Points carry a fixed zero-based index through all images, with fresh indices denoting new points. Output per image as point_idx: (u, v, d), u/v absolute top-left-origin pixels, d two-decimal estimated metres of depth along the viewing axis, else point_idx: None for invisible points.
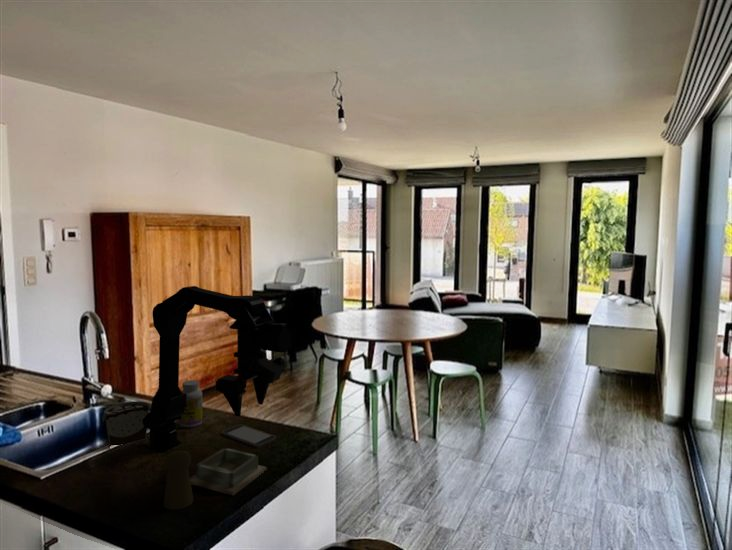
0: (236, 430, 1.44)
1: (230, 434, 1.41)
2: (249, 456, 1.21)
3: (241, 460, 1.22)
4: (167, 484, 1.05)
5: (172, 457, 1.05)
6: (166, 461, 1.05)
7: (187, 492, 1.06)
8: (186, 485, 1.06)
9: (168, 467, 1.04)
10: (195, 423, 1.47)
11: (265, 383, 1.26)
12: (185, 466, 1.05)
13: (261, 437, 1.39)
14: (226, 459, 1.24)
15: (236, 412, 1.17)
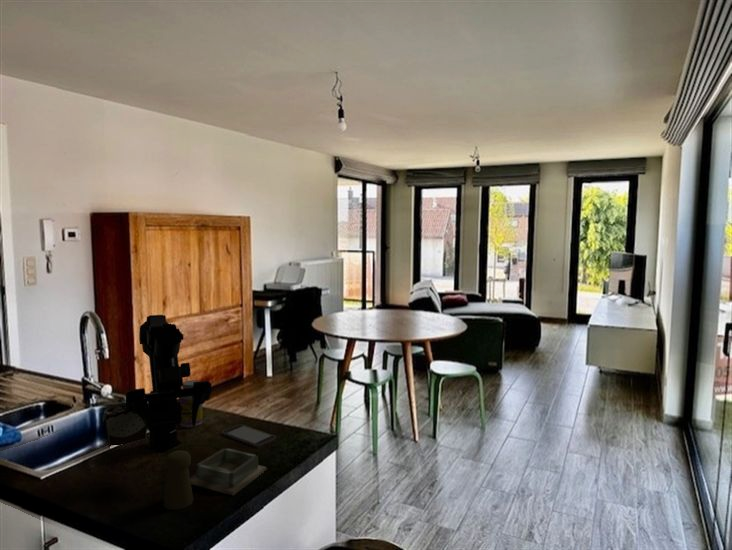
0: (236, 430, 1.44)
1: (230, 434, 1.41)
2: (249, 456, 1.21)
3: (241, 460, 1.22)
4: (167, 484, 1.05)
5: (172, 457, 1.05)
6: (166, 461, 1.05)
7: (187, 492, 1.06)
8: (186, 485, 1.06)
9: (168, 467, 1.04)
10: (195, 423, 1.47)
11: (193, 401, 1.17)
12: (185, 466, 1.05)
13: (261, 437, 1.39)
14: (226, 459, 1.24)
15: (148, 428, 1.11)
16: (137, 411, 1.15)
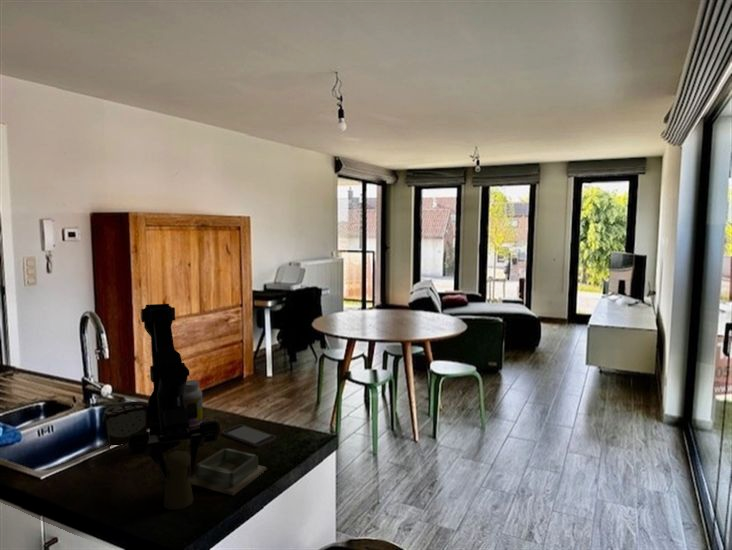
0: (236, 430, 1.44)
1: (230, 434, 1.41)
2: (249, 456, 1.21)
3: (241, 460, 1.22)
4: (167, 484, 1.05)
5: (172, 457, 1.05)
6: (166, 461, 1.05)
7: (187, 492, 1.06)
8: (186, 485, 1.06)
9: (168, 467, 1.04)
10: (195, 423, 1.47)
11: (191, 445, 1.09)
12: (185, 466, 1.05)
13: (261, 437, 1.39)
14: (226, 459, 1.24)
15: (162, 473, 1.04)
16: (150, 454, 1.08)
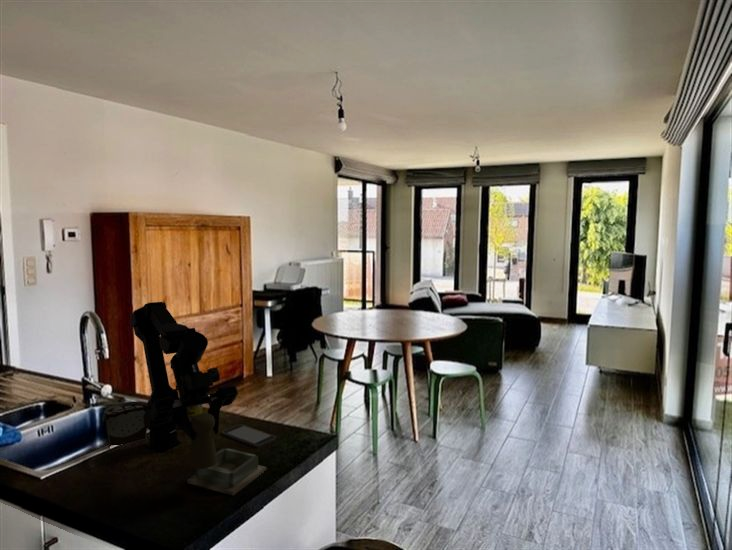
0: (236, 430, 1.44)
1: (230, 434, 1.41)
2: (249, 456, 1.21)
3: (241, 460, 1.22)
4: (194, 445, 1.09)
5: (199, 419, 1.09)
6: (193, 423, 1.08)
7: (213, 452, 1.10)
8: (212, 445, 1.10)
9: (196, 428, 1.08)
10: None
11: (213, 408, 1.13)
12: (211, 427, 1.09)
13: (261, 437, 1.39)
14: (226, 459, 1.24)
15: (190, 435, 1.08)
16: (173, 418, 1.11)
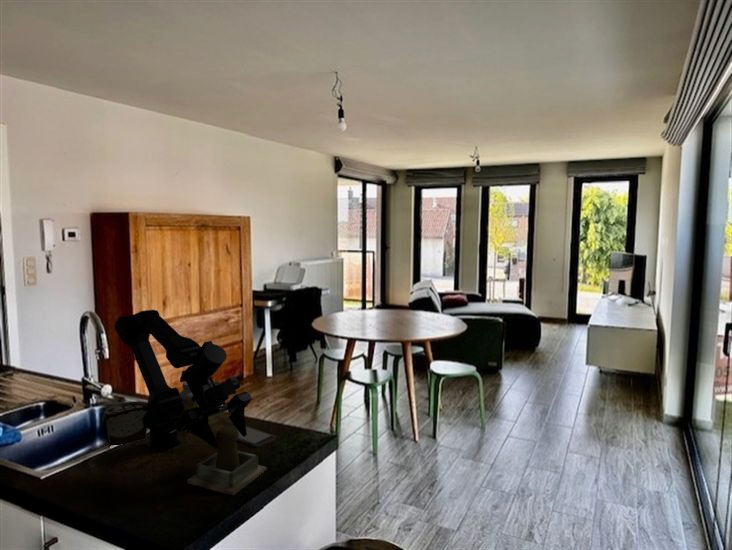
0: None
1: None
2: (249, 456, 1.21)
3: (241, 460, 1.22)
4: (221, 457, 1.16)
5: (226, 432, 1.16)
6: (220, 437, 1.15)
7: (238, 461, 1.18)
8: (237, 455, 1.18)
9: (224, 441, 1.15)
10: None
11: (238, 413, 1.22)
12: (237, 438, 1.17)
13: (260, 437, 1.39)
14: None
15: (213, 443, 1.14)
16: (192, 430, 1.15)
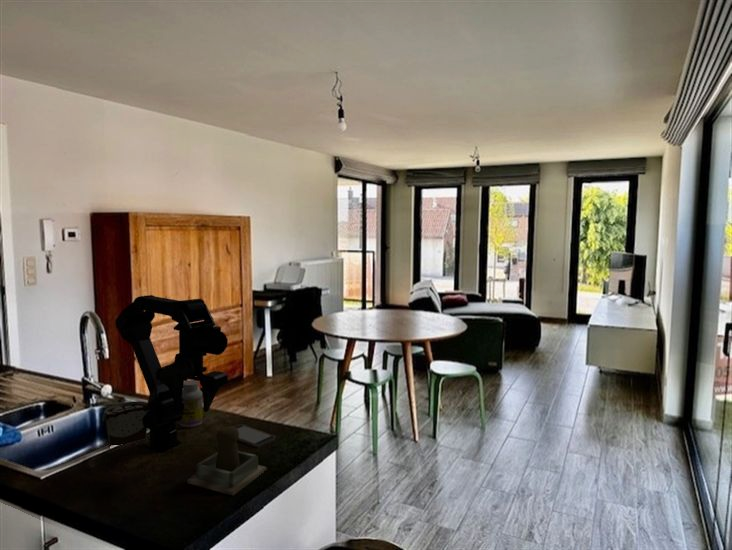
0: None
1: None
2: (249, 456, 1.21)
3: (241, 460, 1.22)
4: (221, 457, 1.16)
5: (226, 432, 1.16)
6: (221, 437, 1.15)
7: (238, 461, 1.18)
8: (238, 455, 1.18)
9: (224, 441, 1.15)
10: (195, 423, 1.47)
11: None
12: (237, 439, 1.18)
13: (260, 437, 1.39)
14: None
15: None
16: None
